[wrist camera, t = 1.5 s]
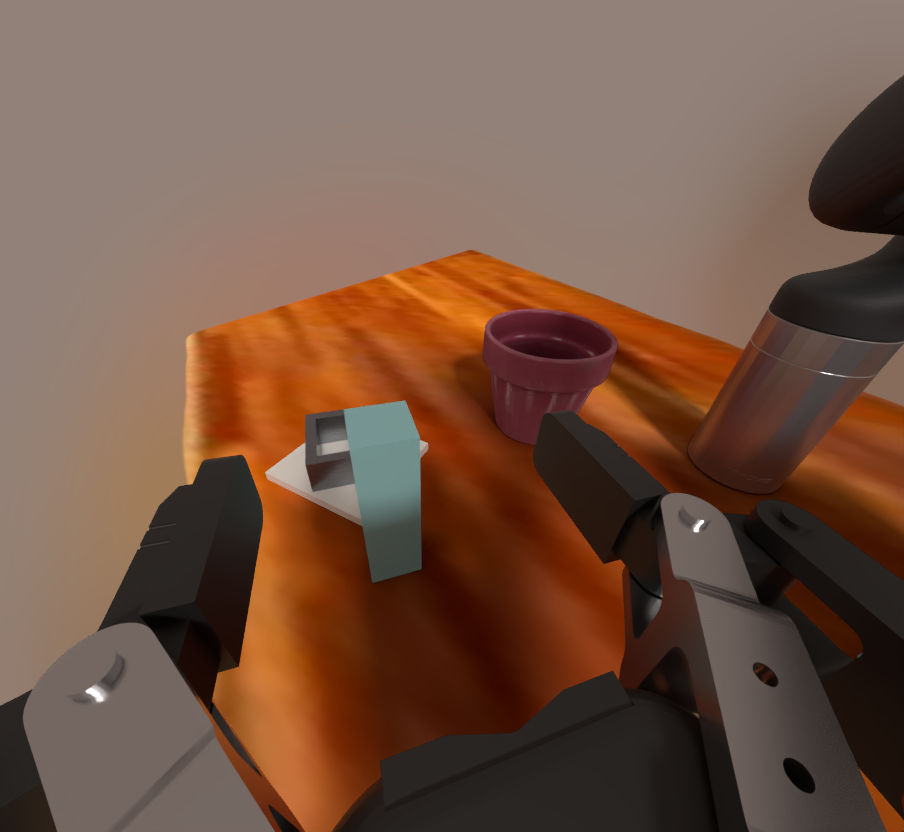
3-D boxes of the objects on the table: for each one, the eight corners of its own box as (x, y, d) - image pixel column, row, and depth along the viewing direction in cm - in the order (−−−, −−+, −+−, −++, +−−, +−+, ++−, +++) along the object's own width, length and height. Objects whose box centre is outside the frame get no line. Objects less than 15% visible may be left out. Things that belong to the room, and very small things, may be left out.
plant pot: (529, 478, 37) (555, 373, 30) (454, 413, 47) (459, 320, 39) (609, 433, 44) (646, 340, 37) (529, 385, 54) (546, 301, 46)
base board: (346, 418, 45) (345, 412, 44) (427, 449, 40) (428, 443, 40) (267, 479, 36) (264, 472, 35) (362, 526, 32) (361, 519, 31)
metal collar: (311, 440, 39) (305, 414, 37) (382, 428, 42) (380, 404, 40) (312, 492, 33) (305, 465, 31) (395, 475, 36) (393, 449, 34)
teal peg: (365, 540, 31) (343, 409, 22) (410, 529, 32) (405, 400, 23) (372, 583, 27) (349, 449, 19) (421, 569, 29) (419, 437, 20)
